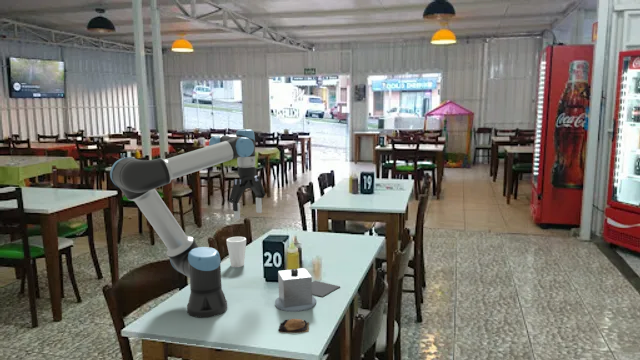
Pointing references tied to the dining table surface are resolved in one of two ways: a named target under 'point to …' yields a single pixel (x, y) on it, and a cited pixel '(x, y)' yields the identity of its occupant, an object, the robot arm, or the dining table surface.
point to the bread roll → (294, 326)
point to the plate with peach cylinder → (296, 308)
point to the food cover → (295, 287)
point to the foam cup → (236, 250)
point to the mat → (322, 288)
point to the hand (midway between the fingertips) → (248, 215)
